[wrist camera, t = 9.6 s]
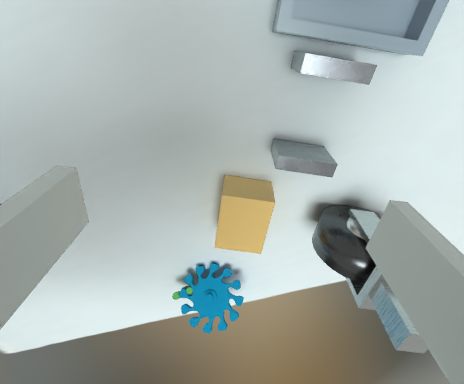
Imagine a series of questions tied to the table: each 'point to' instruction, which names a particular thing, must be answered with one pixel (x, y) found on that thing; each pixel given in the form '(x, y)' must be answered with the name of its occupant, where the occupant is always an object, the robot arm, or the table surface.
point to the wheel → (363, 270)
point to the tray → (363, 22)
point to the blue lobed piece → (210, 297)
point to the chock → (244, 214)
